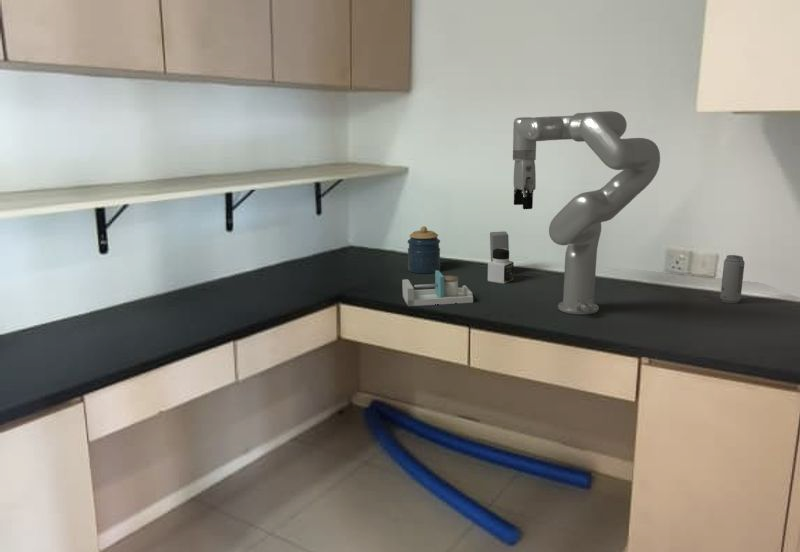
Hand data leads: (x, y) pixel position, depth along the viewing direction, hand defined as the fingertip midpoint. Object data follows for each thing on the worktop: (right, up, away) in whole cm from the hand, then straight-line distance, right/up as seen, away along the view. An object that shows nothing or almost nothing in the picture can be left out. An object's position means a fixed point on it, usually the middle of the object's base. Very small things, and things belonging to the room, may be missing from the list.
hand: (522, 206), depth 232 cm
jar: (-25, -31, +2) cm, 39 cm away
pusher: (-32, -31, +1) cm, 44 cm away
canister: (-32, -21, +42) cm, 57 cm away
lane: (-29, -31, +2) cm, 43 cm away
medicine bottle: (-4, -25, +25) cm, 35 cm away
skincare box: (-3, -22, +36) cm, 43 cm away
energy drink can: (+67, -32, -6) cm, 75 cm away
